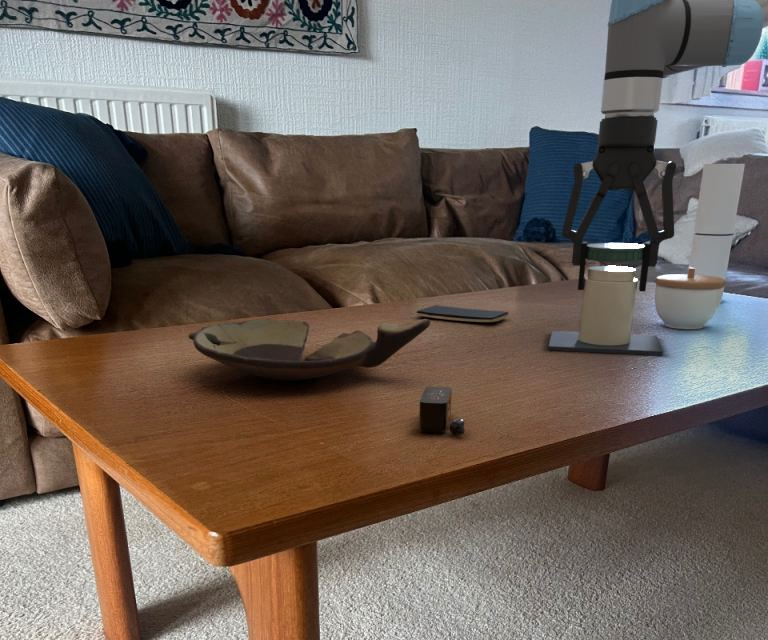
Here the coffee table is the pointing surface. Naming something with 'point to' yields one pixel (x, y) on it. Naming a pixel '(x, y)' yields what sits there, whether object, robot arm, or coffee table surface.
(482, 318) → the smartphone
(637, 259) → the lid
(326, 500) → the coffee table surface
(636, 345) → the mat
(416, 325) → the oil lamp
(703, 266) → the cylindrical container
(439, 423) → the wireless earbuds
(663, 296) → the trinket box
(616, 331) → the jar
